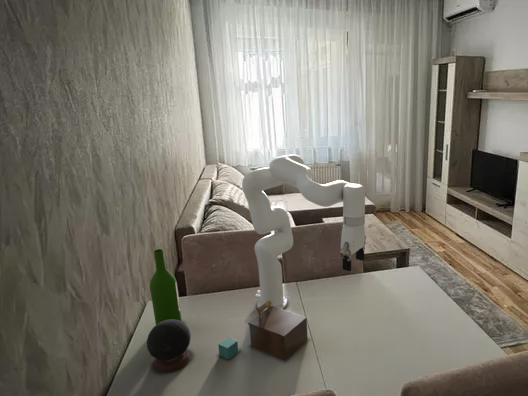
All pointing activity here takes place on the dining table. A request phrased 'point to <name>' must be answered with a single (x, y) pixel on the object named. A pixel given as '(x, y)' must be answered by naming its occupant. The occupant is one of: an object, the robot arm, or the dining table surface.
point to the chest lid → (276, 320)
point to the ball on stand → (169, 345)
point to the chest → (279, 341)
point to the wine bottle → (164, 291)
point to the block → (228, 348)
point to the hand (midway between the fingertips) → (353, 264)
